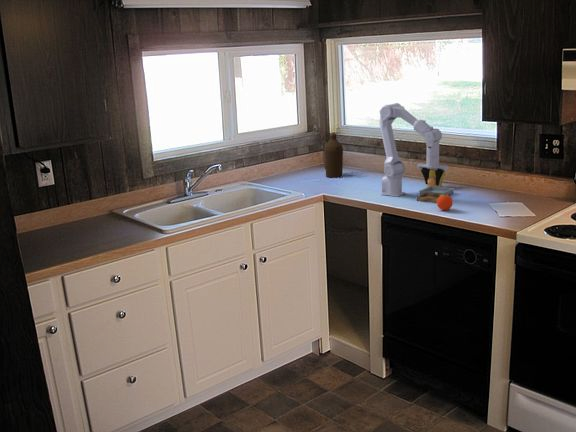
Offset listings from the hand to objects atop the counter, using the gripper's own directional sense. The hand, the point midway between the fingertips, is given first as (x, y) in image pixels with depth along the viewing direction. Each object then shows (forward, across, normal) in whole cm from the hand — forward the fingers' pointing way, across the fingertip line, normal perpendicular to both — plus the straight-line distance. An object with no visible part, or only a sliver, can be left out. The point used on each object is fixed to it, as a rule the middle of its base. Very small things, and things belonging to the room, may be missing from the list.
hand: (432, 184), depth 293 cm
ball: (-2, 0, 0) cm, 2 cm away
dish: (+8, -3, +12) cm, 14 cm away
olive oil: (+8, -72, +26) cm, 77 cm away
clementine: (+8, +12, -14) cm, 20 cm away
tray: (+8, 0, 0) cm, 8 cm away
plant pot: (+8, -10, +24) cm, 28 cm away
